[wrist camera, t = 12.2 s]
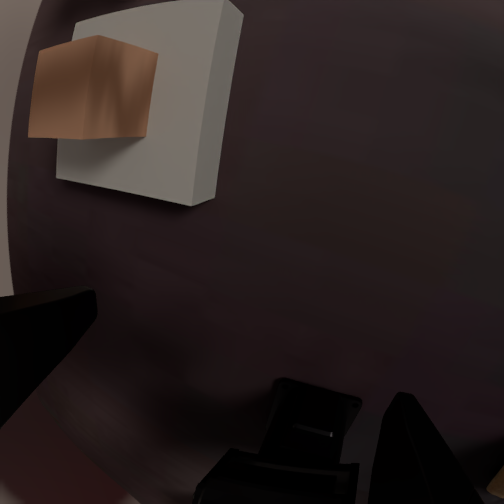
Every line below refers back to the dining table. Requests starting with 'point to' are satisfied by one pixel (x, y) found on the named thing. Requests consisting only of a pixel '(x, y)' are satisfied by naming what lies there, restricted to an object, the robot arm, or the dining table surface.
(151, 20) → the grey base
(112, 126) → the terracotta cube
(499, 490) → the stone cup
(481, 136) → the dining table surface
